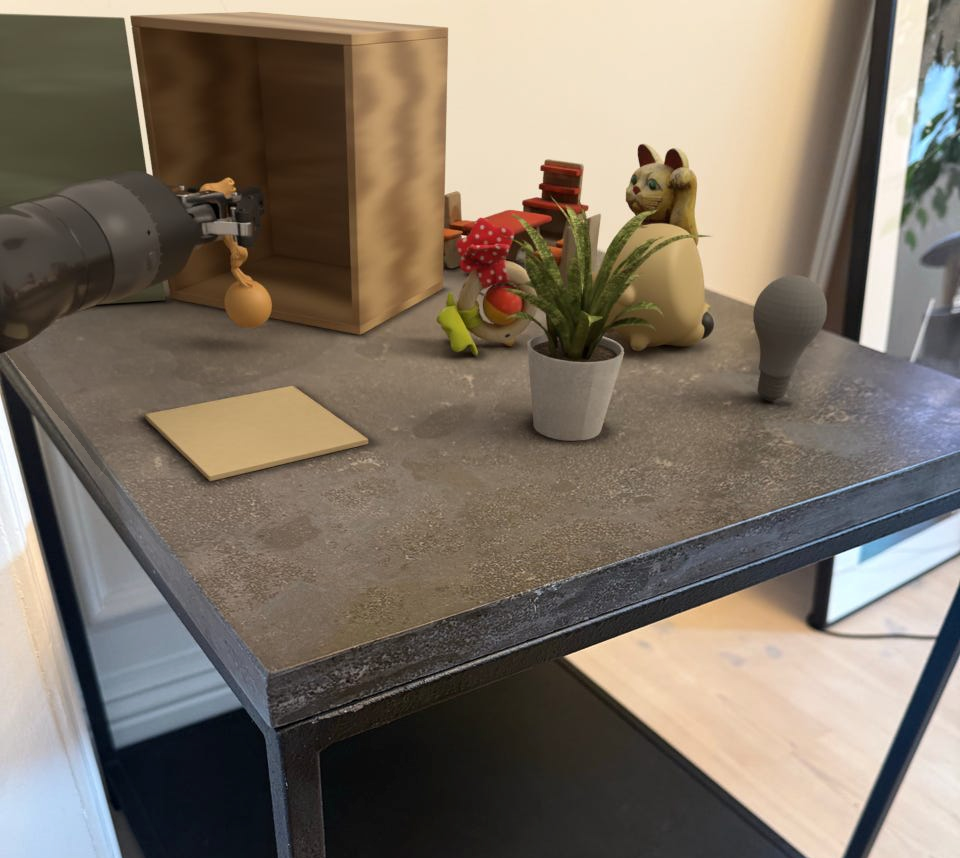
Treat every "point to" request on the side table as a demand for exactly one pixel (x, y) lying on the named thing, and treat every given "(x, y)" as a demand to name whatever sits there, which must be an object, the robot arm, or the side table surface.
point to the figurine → (242, 279)
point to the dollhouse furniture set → (533, 218)
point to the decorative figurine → (664, 189)
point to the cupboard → (306, 154)
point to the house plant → (578, 327)
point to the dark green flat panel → (66, 108)
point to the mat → (253, 432)
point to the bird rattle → (487, 268)
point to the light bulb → (786, 329)
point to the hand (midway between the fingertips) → (237, 198)
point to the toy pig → (663, 291)
